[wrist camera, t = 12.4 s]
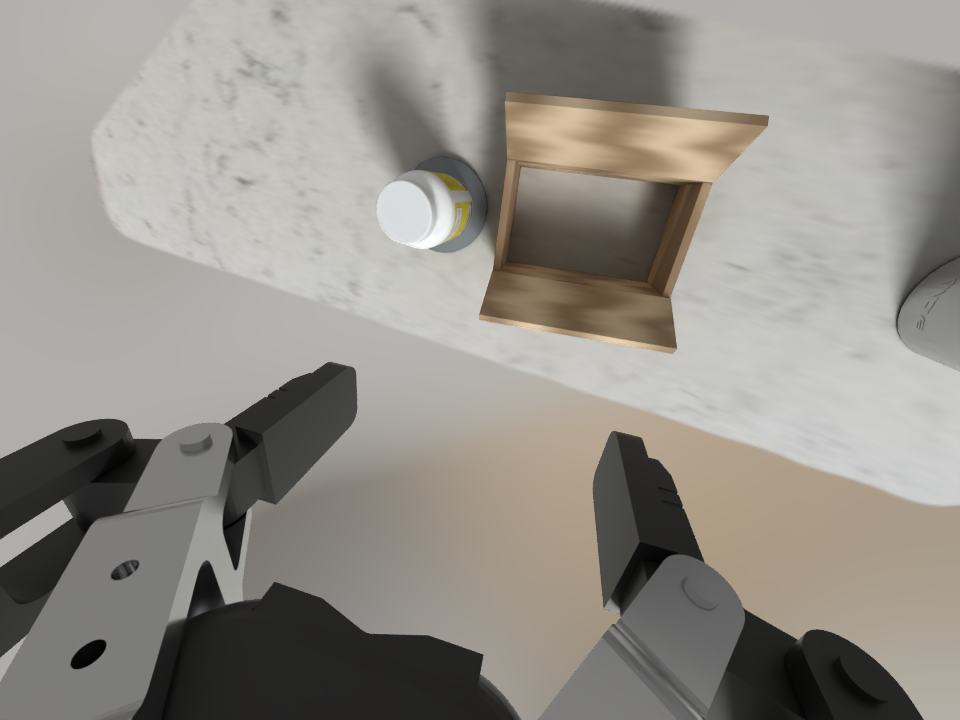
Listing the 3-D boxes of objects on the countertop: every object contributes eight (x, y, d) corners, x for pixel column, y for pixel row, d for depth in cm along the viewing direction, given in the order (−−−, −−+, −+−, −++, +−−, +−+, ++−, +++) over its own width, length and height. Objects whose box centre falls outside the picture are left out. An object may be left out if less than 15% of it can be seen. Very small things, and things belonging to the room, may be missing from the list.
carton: (701, 142, 26) (772, 114, 18) (642, 315, 33) (674, 355, 24) (520, 123, 28) (506, 90, 20) (496, 291, 34) (478, 321, 26)
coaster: (492, 163, 30) (491, 162, 29) (481, 257, 33) (480, 258, 33) (405, 153, 31) (402, 152, 30) (403, 245, 34) (401, 246, 34)
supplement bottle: (408, 187, 31) (352, 183, 23) (462, 164, 30) (424, 151, 21) (429, 246, 33) (385, 264, 24) (482, 228, 31) (454, 240, 23)
